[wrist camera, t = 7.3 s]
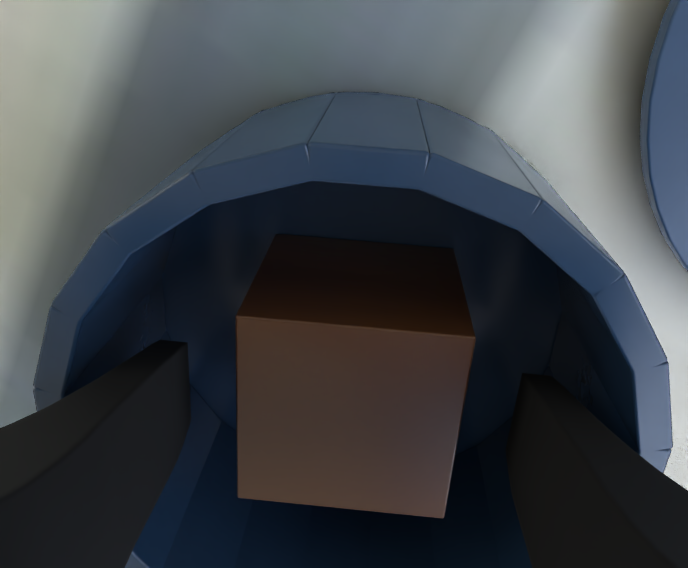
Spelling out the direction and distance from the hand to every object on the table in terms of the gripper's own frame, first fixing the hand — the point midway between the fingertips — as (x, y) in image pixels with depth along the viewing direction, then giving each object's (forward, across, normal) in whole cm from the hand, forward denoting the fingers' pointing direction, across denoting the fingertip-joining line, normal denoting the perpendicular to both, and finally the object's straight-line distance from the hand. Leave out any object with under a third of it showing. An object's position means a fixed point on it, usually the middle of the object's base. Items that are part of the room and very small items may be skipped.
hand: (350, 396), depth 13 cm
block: (+3, 0, 0) cm, 3 cm away
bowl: (+4, 0, 0) cm, 4 cm away
